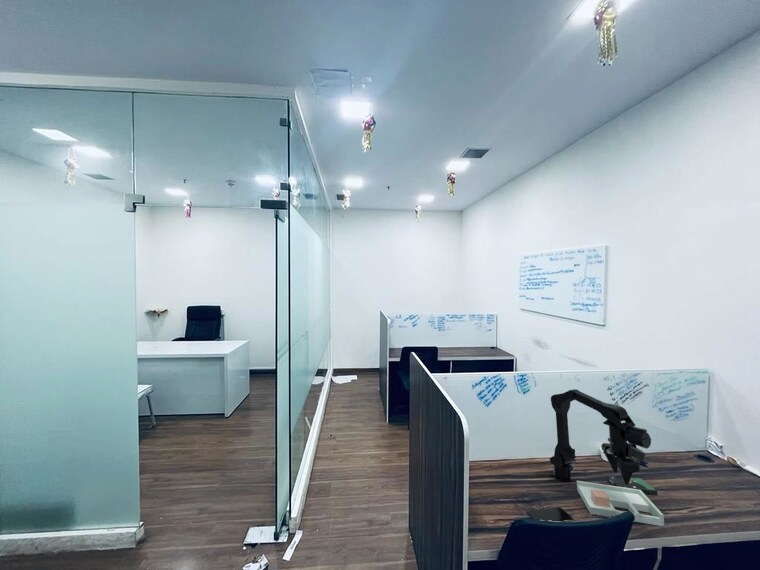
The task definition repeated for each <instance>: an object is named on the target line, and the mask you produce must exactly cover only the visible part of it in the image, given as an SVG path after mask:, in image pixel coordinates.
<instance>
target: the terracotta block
mask: <svg viewBox="0 0 760 570" xmlns="http://www.w3.org/2000/svg"><path fill="white" fill-rule="evenodd" d="M591 499H592V500H593V502H594V503H595V505H597V506H603V507H609V508H610V498H609V497H608V495H607V494H606V493H605V491H599V490H592V489H591Z"/></svg>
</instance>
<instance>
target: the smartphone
mask: <svg viewBox="0 0 760 570" xmlns="http://www.w3.org/2000/svg"><path fill="white" fill-rule="evenodd" d="M525 513H526V515H527V516H528V517H529V518H530V519H531V518H534V519H542V520H552V521H564V520H573V521H574V520H575V519H574V517H572V516H571V515H570V514H569V513H568V512H567V511H565V510H564V509H563V508H561V507H560V506H556V507H549V508H541V509H540V508H539V509H530V510H526V512H525ZM573 521H572V522H573Z"/></svg>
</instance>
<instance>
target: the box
mask: <svg viewBox="0 0 760 570" xmlns="http://www.w3.org/2000/svg"><path fill="white" fill-rule="evenodd" d="M591 489H592V490H599V491H605V493H606V494H607V495H608V497H609V498H610V508H609V507H603V506H597V505H595V503H594V502H593V500H592V499H591ZM576 490H577V492H578V494H579V496H580V498H581V500H582V501H583V504H584V505H585V506H586V508H587V510H588V511H589V514H590V515H595V514H596V515H597V516H601V515H602V516H601V517H606V518H612V517H611V516H615V515H618V514H621V513H623V512H626V511H624V510H618V509H616V508H619V509H627V510H628V512H629V511H630V512H632V513H633V514H634V516H635V520H634V521H633V522H636V523H643V524H648V525H654V526H658V527H659V526H660V527H665V515H664V514H663V513H662V512H661V511H660V509H658V508H657V506H656V505H655V504H654V503H653V502H652V501H651V500H650V499H649V497H648V495H645V494H644V493H643V492H642V491H641V490H638V489H631V488H624V487H617V486H613V485H611V484H610V485H609V484H605V483H604V484H602V483H598V482H597V483H596V482H590V481H589V482H588V481H581V480H576ZM640 512H645V513H649V514H650V515H647V514H642V513H640Z"/></svg>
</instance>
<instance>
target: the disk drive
mask: <svg viewBox="0 0 760 570" xmlns="http://www.w3.org/2000/svg"><path fill="white" fill-rule="evenodd" d="M607 481H608V482H609V483H610V485H611V486H617V487H624V488H631V489H638V490H641V491H642V492H643V493H644V494H645V495H646V496H658V493H659V492H658V490H657V489H656V488H655V487H654V486H652V485H651V484H650V483H647V482H646V481H644V480H643V479H642V478H641V477H640V478H639V477H631V478H630V481H629V484H628V485H627V484H625V483H624V481H623V479H622V476H607Z"/></svg>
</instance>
